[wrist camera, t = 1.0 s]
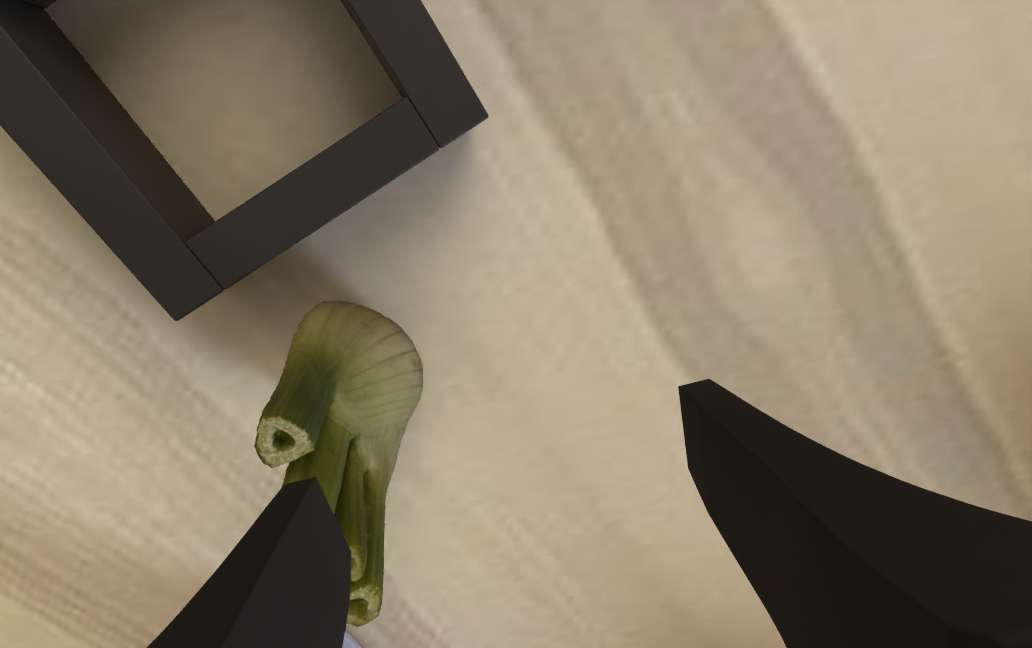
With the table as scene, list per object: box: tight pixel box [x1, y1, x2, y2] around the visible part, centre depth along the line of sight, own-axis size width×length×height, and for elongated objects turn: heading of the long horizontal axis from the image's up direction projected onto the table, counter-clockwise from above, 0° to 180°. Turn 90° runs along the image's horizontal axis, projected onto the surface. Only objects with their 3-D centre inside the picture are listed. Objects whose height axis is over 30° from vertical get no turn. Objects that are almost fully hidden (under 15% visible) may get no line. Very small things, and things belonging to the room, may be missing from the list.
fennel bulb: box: [255, 301, 423, 627], centre depth 19 cm, size 6×5×12 cm
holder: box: [0, 0, 488, 321], centre depth 19 cm, size 12×12×4 cm
